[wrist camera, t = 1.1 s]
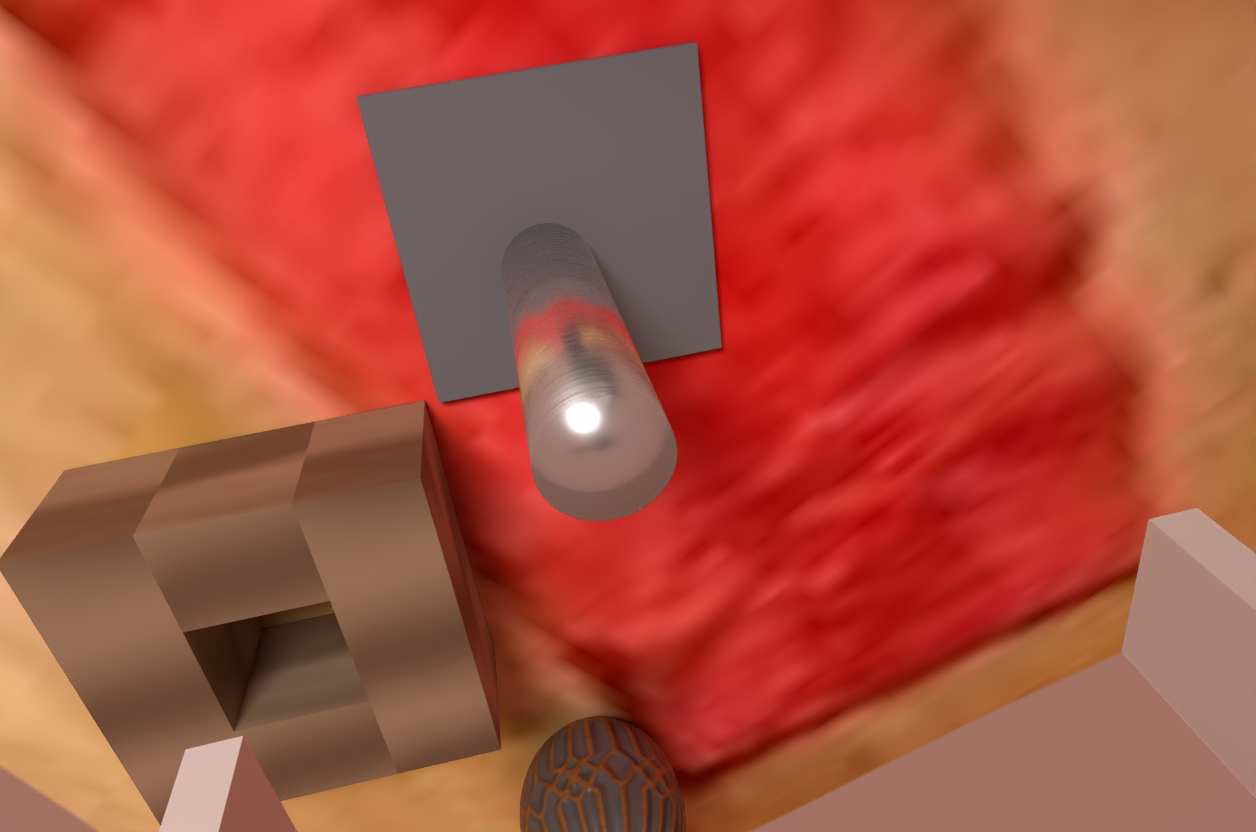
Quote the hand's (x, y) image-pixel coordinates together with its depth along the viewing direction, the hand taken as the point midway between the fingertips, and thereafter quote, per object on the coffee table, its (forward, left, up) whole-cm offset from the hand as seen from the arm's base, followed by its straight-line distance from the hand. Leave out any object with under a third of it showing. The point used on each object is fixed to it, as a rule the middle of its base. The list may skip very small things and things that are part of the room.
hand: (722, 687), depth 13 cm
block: (+10, -12, -19) cm, 24 cm away
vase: (+23, -3, -19) cm, 29 cm away
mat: (-1, 0, -19) cm, 19 cm away
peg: (0, -1, -18) cm, 18 cm away
